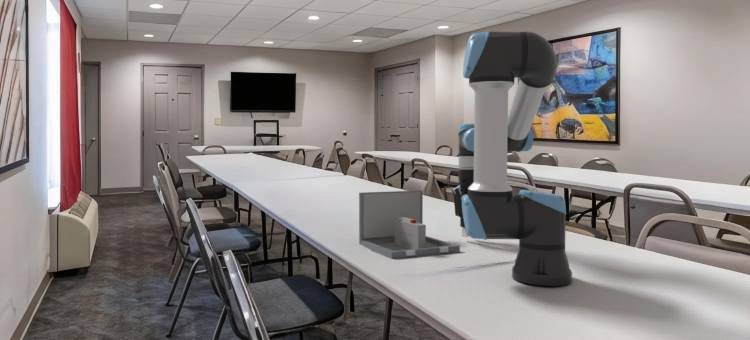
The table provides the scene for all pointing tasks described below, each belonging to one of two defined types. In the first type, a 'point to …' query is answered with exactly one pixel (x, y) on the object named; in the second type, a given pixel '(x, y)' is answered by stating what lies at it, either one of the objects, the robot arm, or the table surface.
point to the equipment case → (393, 222)
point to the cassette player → (409, 233)
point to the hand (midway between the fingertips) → (469, 236)
